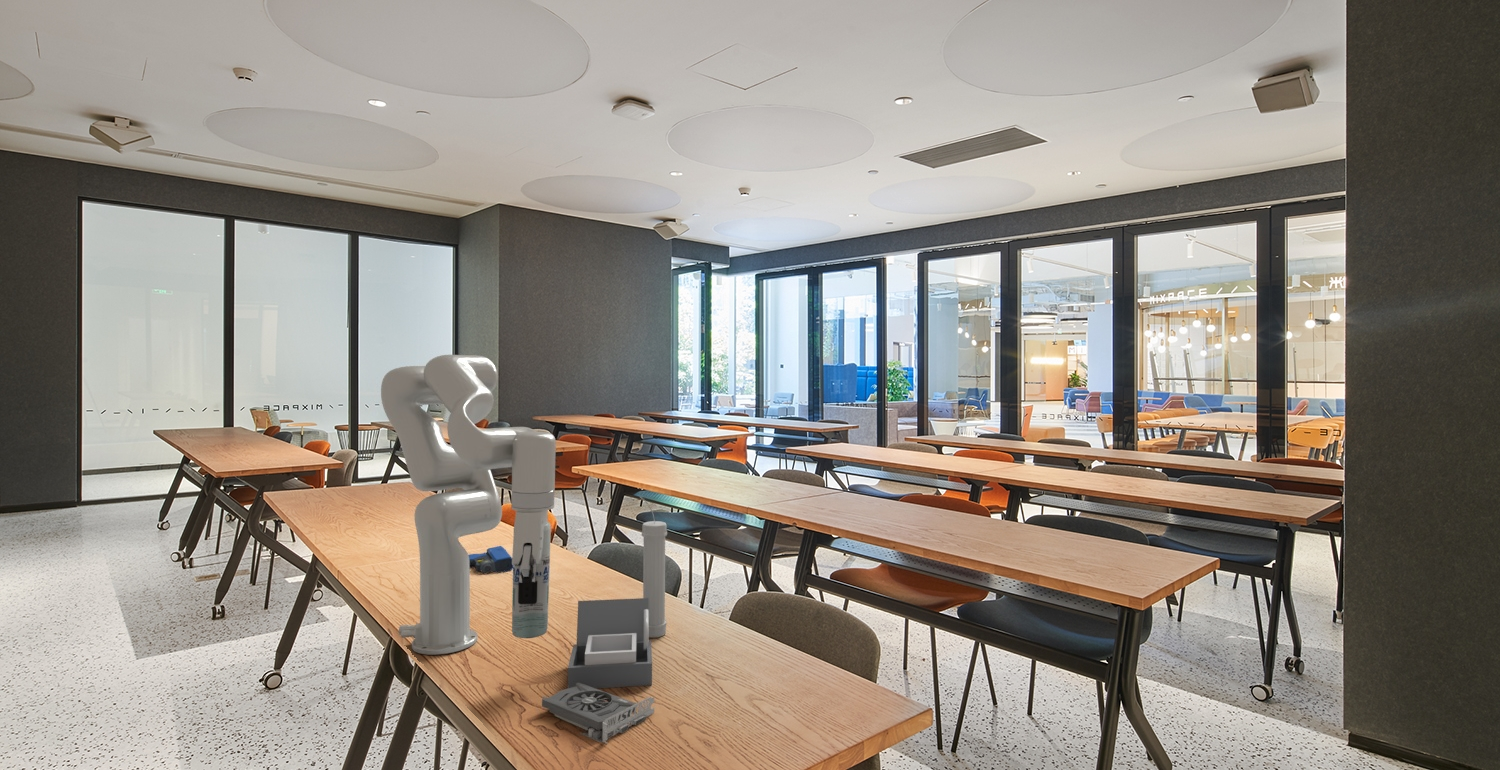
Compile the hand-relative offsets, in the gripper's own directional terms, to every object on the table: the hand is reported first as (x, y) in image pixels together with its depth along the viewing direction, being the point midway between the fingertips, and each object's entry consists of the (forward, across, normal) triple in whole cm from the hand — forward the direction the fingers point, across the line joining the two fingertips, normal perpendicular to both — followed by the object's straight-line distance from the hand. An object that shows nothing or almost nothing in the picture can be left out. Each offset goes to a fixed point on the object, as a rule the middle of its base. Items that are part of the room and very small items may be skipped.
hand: (530, 595), depth 129 cm
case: (+16, -3, +15) cm, 22 cm away
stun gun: (+20, -80, -25) cm, 86 cm away
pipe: (+16, -21, +23) cm, 35 cm away
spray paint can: (+7, 0, 0) cm, 7 cm away
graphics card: (+16, +14, +13) cm, 25 cm away
